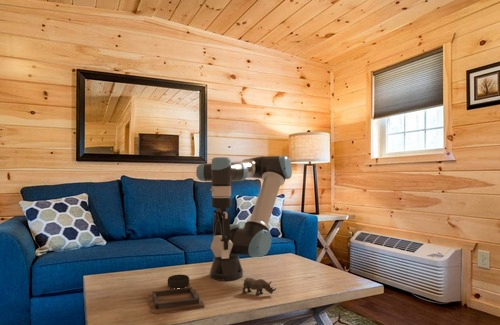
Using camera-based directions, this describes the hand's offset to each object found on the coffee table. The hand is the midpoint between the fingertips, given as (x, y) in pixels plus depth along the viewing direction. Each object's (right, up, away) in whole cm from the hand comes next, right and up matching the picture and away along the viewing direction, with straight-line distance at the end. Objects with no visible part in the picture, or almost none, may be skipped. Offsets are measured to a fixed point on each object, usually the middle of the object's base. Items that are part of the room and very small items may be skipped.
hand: (221, 255), depth 135 cm
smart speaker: (-19, -16, +12) cm, 28 cm away
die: (0, 0, 0) cm, 0 cm away
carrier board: (-17, -15, -7) cm, 24 cm away
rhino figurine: (+15, -16, +1) cm, 22 cm away
